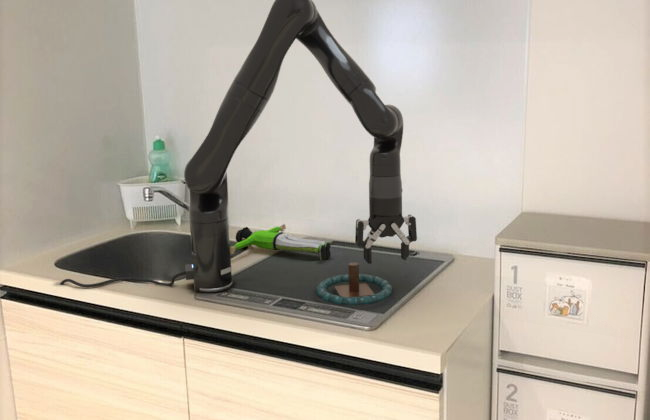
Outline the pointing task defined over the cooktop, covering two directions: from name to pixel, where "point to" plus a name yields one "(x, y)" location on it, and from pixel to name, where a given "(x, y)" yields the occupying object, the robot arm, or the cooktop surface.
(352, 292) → the ring toss
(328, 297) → the ring
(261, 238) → the figurine
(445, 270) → the cooktop surface
